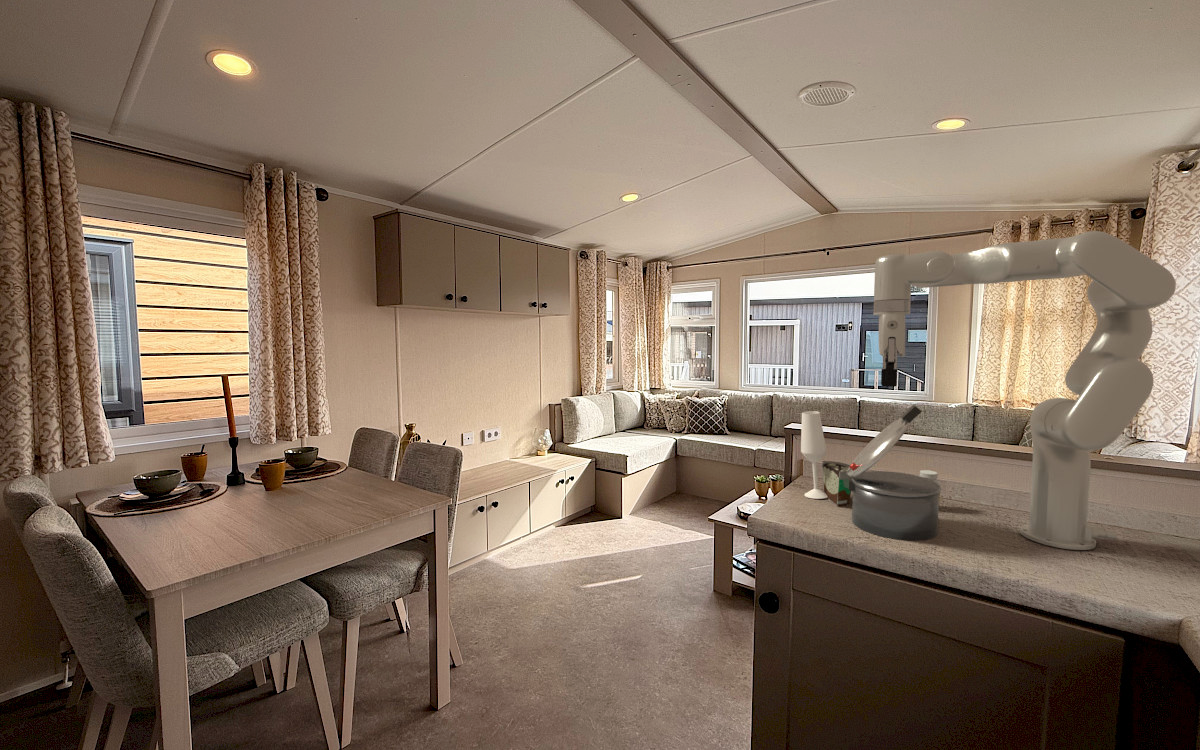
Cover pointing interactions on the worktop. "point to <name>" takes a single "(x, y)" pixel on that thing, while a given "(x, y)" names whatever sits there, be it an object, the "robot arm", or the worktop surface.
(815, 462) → the champagne flute
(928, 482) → the cooker pot
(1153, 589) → the worktop surface
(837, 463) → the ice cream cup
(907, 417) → the cooker lid
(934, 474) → the supplement bottle
